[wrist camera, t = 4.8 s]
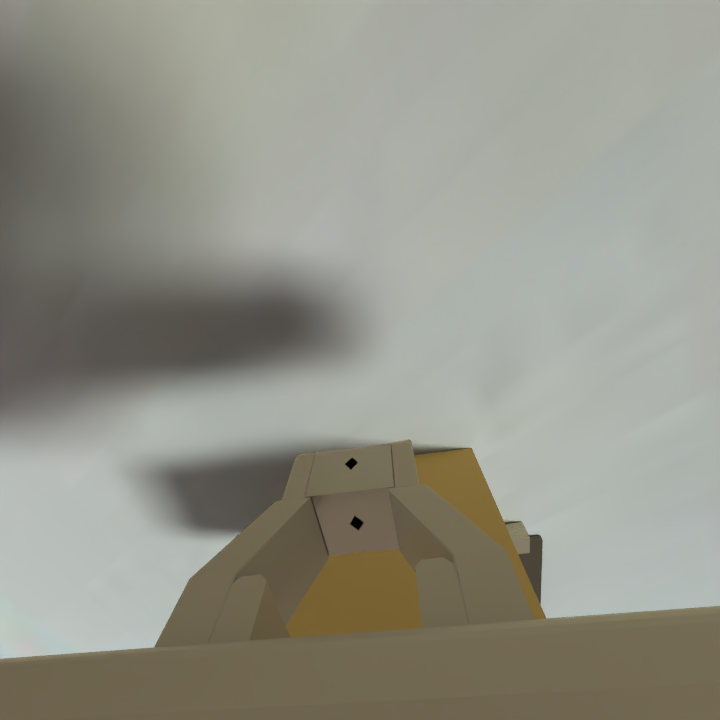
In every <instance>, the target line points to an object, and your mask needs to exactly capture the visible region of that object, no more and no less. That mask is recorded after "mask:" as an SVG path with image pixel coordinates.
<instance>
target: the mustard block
mask: <svg viewBox="0 0 720 720" xmlns="http://www.w3.org/2000/svg"><path fill="white" fill-rule="evenodd" d="M414 458H415V463H416V469H417V474H418V480H419V484H426V485H428V486H429V487H430V488H431V489H432V490H434V491H435V492H436V493H437V494H438V495H440V496H441V497H442V498H443V499H445V500H446V501H447V502H448V503H449V504H451V505H452V506H453V507H454V508H455V509H457V510H458V511H459V512H460V513H462V514H463V515H464V516H465V517H466V518H468V519H469V520H470V521H471V522H472V523H474V524H475V525H476V526H477V527H479V528H480V529H481V530H482V531H483V532H485V533H486V534H487V535H488V536H489V537H491V538H492V539H493V540H494V541H496V542H497V543H498V544H499V545H500V546H502V547H503V548H504V549H505V550H506V551H507V554H508V556H509V558H510V561H511V563H512V566H513V568H514V571H515V573H516V576H517V578H518V580H519V583H520V585H521V588H522V590H523V593H524V595H525V598H526V600H527V602H528V605H529V607H530V610H531V612H532V615H533V617H534V619H546V617H545V614H544V612H543V610H542V608H541V605H540V603H539V601H538V598H537V596H536V594H535V592H534V589H533V587H532V585H531V582H530V580H529V578H528V576H527V573H526V571H525V569H524V566H523V564H522V562H521V560H520V557H519V555H518V553H517V551H516V548H515V546H514V544H513V541H512V539H511V537H510V535H509V532H508V530H507V528H506V525H505V523H504V521H503V519H502V516H501V514H500V512H499V509H498V507H497V505H496V503H495V500H494V498H493V496H492V494H491V491H490V489H489V487H488V484H487V482H486V480H485V478H484V475H483V473H482V471H481V468H480V466H479V464H478V462H477V459H476V457H475V455H474V453H473V450H472V448H467V449H459V450H451V451H443V452H435V453H427V454H419V455H414ZM328 557H329V559H328V561H327V562H326V564H325V565H324V567H323V568H322V570H321V572H320V573H319V575H318V576H317V578H316V579H315V581H314V582H313V584H312V586H311V587H310V589H309V590H308V592H307V593H306V595H305V597H304V598H303V600H302V601H301V603H300V604H299V606H298V607H297V609H296V611H295V612H294V614H293V615H292V617H291V618H290V620H289V621H288V623H287V625H286V629H287V631H288V633H289V636H290V638H292V637H306V636H319V635H333V634H347V633H361V632H375V631H388V630H402V629H415V628H422V623H421V614H420V605H419V596H418V587H417V577H416V573H415V572H414V570H413V569H412V567H411V566H410V565H409V563H408V562H407V560H406V559H405V558H404V556H403V555H402V553H401V552H400V550H399V549H396V550H381V551H366V552H357V553H349V554H342V555H334V556H328Z"/></svg>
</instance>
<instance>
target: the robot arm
mask: <svg viewBox="0 0 720 720" xmlns="http://www.w3.org/2000/svg"><path fill="white" fill-rule="evenodd" d="M396 549H399V550H400V552H401V553H402V555H403V556H404V558H405V559H406V560H407V562H408V563H409V565H410V566H411V567H412V569H413V570H414V572H415V573H416V577H417V587H418V596H419V605H420V614H421V623H422V628H415V629H402V630H388V631H375V632H361V633H347V634H333V635H319V636H306V637H292V638H290V636H289V633H288V631H287V629H286V625H287V623H288V621H289V620H290V618H291V617H292V615H293V614H294V612H295V611H296V609H297V607H298V606H299V604H300V603H301V601H302V600H303V598H304V597H305V595H306V593H307V592H308V590H309V589H310V587H311V586H312V584H313V582H314V581H315V579H316V578H317V576H318V575H319V573H320V572H321V570H322V568H323V567H324V565H325V564H326V562H327V561H328V559H329V557H328V556H334V555H342V554H349V553H357V552H366V551H381V550H396ZM0 720H720V606H712V607H699V608H685V609H671V610H658V611H644V612H630V613H617V614H603V615H589V616H576V617H562V618H548V619H534V617H533V615H532V612H531V610H530V607H529V605H528V602H527V600H526V598H525V595H524V593H523V590H522V588H521V585H520V583H519V580H518V578H517V576H516V573H515V571H514V568H513V566H512V563H511V561H510V558H509V556H508V554H507V551H506V550H505V549H504V548H503V547H502V546H500V545H499V544H498V543H497V542H496V541H494V540H493V539H492V538H491V537H489V536H488V535H487V534H486V533H485V532H483V531H482V530H481V529H480V528H479V527H477V526H476V525H475V524H474V523H472V522H471V521H470V520H469V519H468V518H466V517H465V516H464V515H463V514H462V513H460V512H459V511H458V510H457V509H455V508H454V507H453V506H452V505H451V504H449V503H448V502H447V501H446V500H445V499H443V498H442V497H441V496H440V495H438V494H437V493H436V492H435V491H434V490H432V489H431V488H430V487H429V486H428V485H426V484H419V480H418V474H417V469H416V463H415V458H414V452H413V446H412V441H411V440H405V441H399V442H393V443H390V444H383V445H375V446H368V447H361V448H350V449H340V450H331V451H322V452H317V453H316V452H313V453H305V454H299V455H298V456H296V458H295V461H294V464H293V467H292V470H291V473H290V476H289V479H288V482H287V485H286V488H285V491H284V494H283V497H282V500H281V501H275V502H274V503H273V504H272V505H271V506H270V507H269V508H268V509H266V510H265V511H264V512H263V513H262V514H261V515H260V516H259V517H258V518H257V519H255V520H254V521H253V522H252V523H251V524H250V525H249V526H248V527H247V528H245V529H244V530H243V531H242V532H241V533H240V534H239V535H238V536H237V537H236V538H234V539H233V540H232V541H231V542H230V543H229V544H228V545H227V546H226V547H224V548H223V549H222V550H221V551H220V552H219V553H218V554H217V555H216V556H215V557H213V558H212V559H211V560H210V561H209V562H208V563H207V564H206V565H205V566H203V567H202V568H201V569H200V570H199V571H198V572H197V573H196V574H195V575H194V576H192V577H191V578H190V579H189V581H188V583H187V585H186V587H185V589H184V591H183V593H182V595H181V597H180V599H179V600H178V602H177V604H176V606H175V608H174V610H173V612H172V614H171V616H170V618H169V620H168V622H167V624H166V626H165V628H164V629H163V631H162V633H161V635H160V637H159V639H158V641H157V643H156V645H155V647H154V648H141V649H127V650H114V651H100V652H87V653H73V654H59V655H46V656H32V657H18V658H5V659H0Z"/></svg>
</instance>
